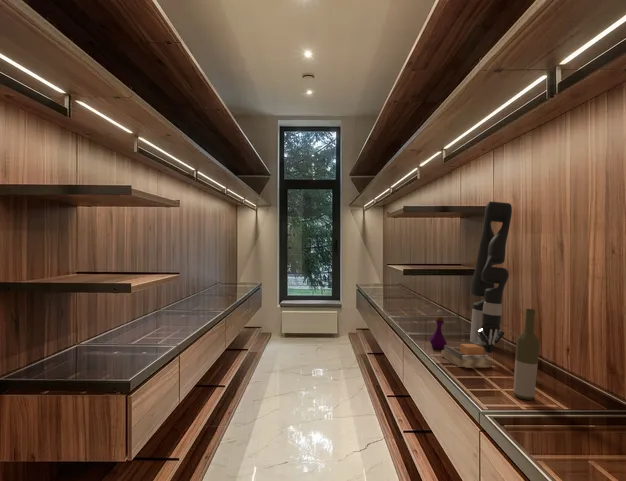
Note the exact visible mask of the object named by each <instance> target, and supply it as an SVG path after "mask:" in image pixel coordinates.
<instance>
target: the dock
mask: <svg viewBox="0 0 626 481" xmlns="http://www.w3.org/2000/svg"><path fill="white" fill-rule="evenodd" d="M440 352H441V354H440V357H441V356H442V357H444V358H446V359H447V360H446V359H445V360H446V361H448V360H449V361H450V362H449V361H448V362H449V363H451V362H452V363H451V364H453V365H454V364H455V366H456V365H457V367H458V366H459V367H465V368H473V369H474V368H492V366H493V364H492V363H493V359H491V358H489V357H487V356H486V355H485V354H483V355H465V354H463V353H461V352H460V346H459V347H457V346H453V347H452V346H449V345H444V348H443V349H441V351H440ZM442 357H441V358H442ZM444 358H443V359H444ZM459 367H458V368H459ZM465 368H464V369H465Z"/></svg>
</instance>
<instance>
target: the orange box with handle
mask: <svg viewBox="0 0 626 481" xmlns="http://www.w3.org/2000/svg"><path fill="white" fill-rule="evenodd" d="M459 347H460V352H461V353H463V354H465V355H484V351H485V349H484V348H485V347H484V345H481V344H478V343H476V342H475V344H474V343H460V344H459Z"/></svg>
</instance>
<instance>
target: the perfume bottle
mask: <svg viewBox="0 0 626 481" xmlns="http://www.w3.org/2000/svg"><path fill="white" fill-rule="evenodd" d="M443 313H444V310H441V309H437V314H438V315H439V316H436V320H435V323H436V324H437V325H436V330H435V332H433V334H432V335H431V336H429V338H428V340H429V343H430V345H431V347H432V349H434V348H436V350H444V345H447V344H448V343H447V341H446V339H445V336H444V335H443V333H442V325H443V324H445V321H444V318H443V317H441V315H442V314H443ZM447 346H448V345H447Z"/></svg>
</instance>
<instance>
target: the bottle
mask: <svg viewBox="0 0 626 481" xmlns="http://www.w3.org/2000/svg"><path fill="white" fill-rule="evenodd" d="M535 315H536V309H531V308H526V309H525V322H524V331H522V333H520V334H519V335H518V336H517V337H516V341H515V342H516V343H515V354H514V355H515V356H514V360H515V361H514V373H513V374H514V376H513V389H512V390H513V391H512V392H513V393H512V394H513V395H514V396H515V397H517V398H519V399H521V400H527V401H531V400H534V398H535V396H536V394H535V392H536V383H537V373H538V366H539V365H538V364H539V354H540V345H541V343H540V339H539V338H538V337H537V336H536V334H535V332H534V329H535V328H534V325H535V324H534V323H535Z"/></svg>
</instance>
